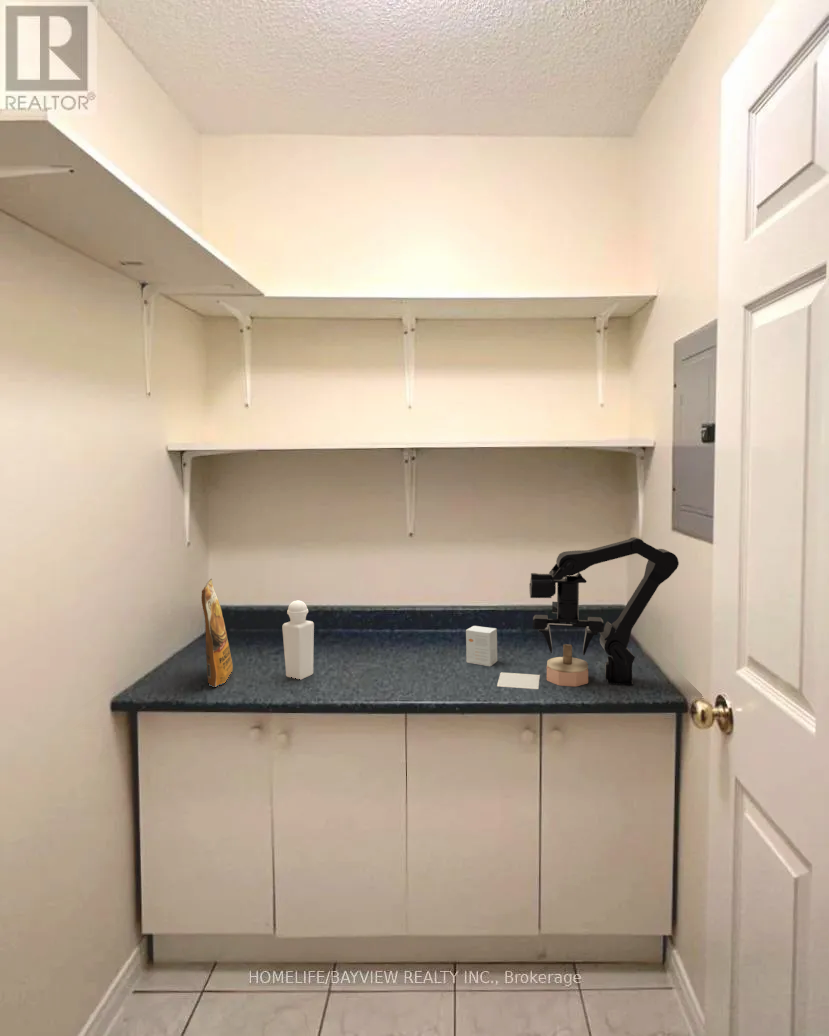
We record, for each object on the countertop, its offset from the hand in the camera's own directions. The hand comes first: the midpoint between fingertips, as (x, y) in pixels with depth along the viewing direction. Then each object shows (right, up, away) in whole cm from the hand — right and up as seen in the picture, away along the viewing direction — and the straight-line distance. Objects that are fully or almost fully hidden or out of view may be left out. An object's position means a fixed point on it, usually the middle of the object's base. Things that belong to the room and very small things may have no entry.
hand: (567, 653), depth 169 cm
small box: (-22, -7, +16) cm, 28 cm away
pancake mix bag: (-98, -9, +6) cm, 99 cm away
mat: (-14, -8, 0) cm, 16 cm away
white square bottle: (-75, -8, +8) cm, 76 cm away
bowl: (0, -8, +1) cm, 8 cm away
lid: (0, -4, 0) cm, 4 cm away
